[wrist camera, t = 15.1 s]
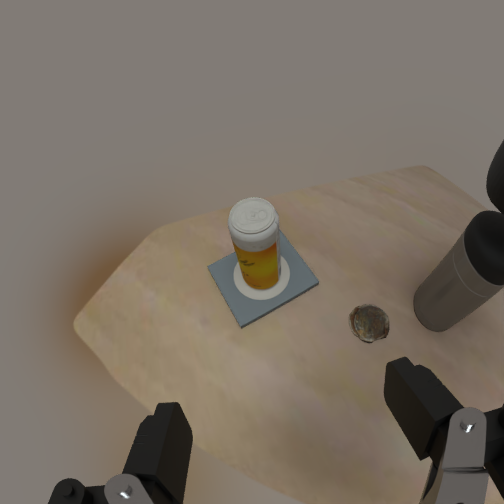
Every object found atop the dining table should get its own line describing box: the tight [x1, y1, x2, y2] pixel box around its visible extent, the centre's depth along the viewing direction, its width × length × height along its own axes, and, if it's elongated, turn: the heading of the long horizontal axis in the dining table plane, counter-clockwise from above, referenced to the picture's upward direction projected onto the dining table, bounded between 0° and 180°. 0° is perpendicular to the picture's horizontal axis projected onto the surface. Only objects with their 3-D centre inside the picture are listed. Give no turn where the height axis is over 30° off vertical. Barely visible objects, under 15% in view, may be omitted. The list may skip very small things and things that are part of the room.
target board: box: [207, 229, 319, 328], centre depth 46 cm, size 14×12×1 cm
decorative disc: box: [349, 304, 389, 343], centre depth 40 cm, size 6×6×1 cm
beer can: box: [228, 197, 281, 290], centre depth 39 cm, size 6×6×15 cm
